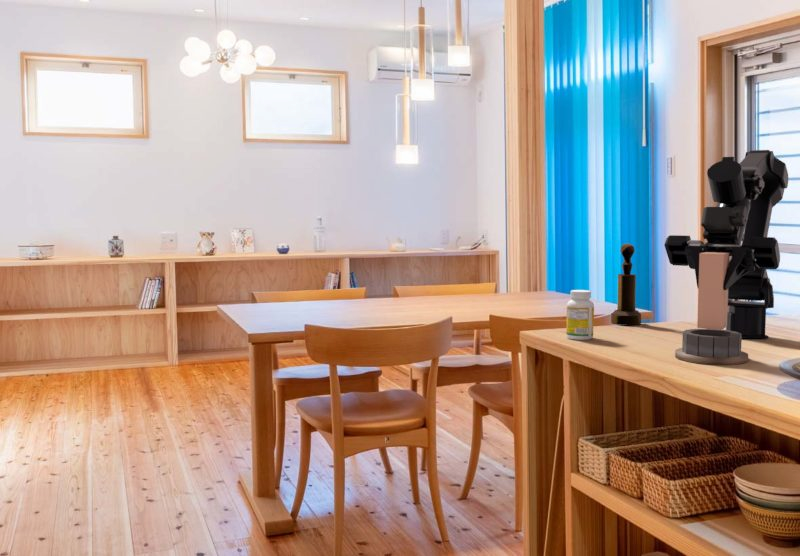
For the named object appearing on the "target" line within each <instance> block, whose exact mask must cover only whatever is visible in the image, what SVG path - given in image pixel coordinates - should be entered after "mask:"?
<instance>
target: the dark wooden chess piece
mask: <svg viewBox="0 0 800 556" xmlns="http://www.w3.org/2000/svg"><path fill="white" fill-rule="evenodd" d="M634 253H635V246H634V245H633V244H631V243H624V244H622V245H621V246H620V254H621V256H622V257H623V263H621V266H622V272H623V273H618V274H617V309H615V310H614V311H612V312H611V315H610V324H613V325H618V326H619V325H620V326H638V325H641V324H642V313H641V312H640V311H639V310H638V309H636V296H637V295H636V291H637V290H636V288H637V286H636V285H637V284H636V282H637V281H636V280H637V275H636V274H635V273H634V274H633V273H631V272H632V268H633V263H632V260H631V259H632V256H633V255H634ZM637 324H638V325H637Z"/></svg>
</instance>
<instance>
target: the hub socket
mask: <svg viewBox="0 0 800 556" xmlns="http://www.w3.org/2000/svg"><path fill="white" fill-rule="evenodd" d="M742 339H743V338H742V334H741V333H738V332H735V331H729V330H726V329H722V330H717V329H705V328H690V329H689V328H688V329H684V330H683V331H682V346H681V347H679V348H676V349H675V350H674V351H675V353H674V355H675V357H674V358H676V359H678V360H680V361H684V362H687V363H692V364H693V363H694V364H701V365H712V366H713V365H714V366H734V365H742V364H747V363H748V362H749V354H748V353H747V352H745V351H743V350H742Z"/></svg>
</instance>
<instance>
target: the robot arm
mask: <svg viewBox="0 0 800 556" xmlns="http://www.w3.org/2000/svg"><path fill="white" fill-rule="evenodd" d="M706 175H707V181H708V184H709V188H710V193H711V198H712V201H713V202H714V203H716V206H704V207H703V210H702V217H701V224H700V225H701V227H703V232H702V237H703V240H706V242H703V241H702V240H699V239H691V236H690V235H680V234H679V235H677V234H676V235H675V234H674V235H673V234H672V235H668V236H667V237H666V238H665V241H664V248H665V251H666V255H667V258H668V261H669V263H670V264H671V265H672V266H681V267H683V266H684V267H685V266H686V267H688V268H690V269H692V270H694V273H695V281H696V287H697V289H698V288H699V254H700V253H704V252H717V253H729V268H728V270H727V273H726V276H725V279H724V284H723V289H724V290H727V289H728V307H729V308H728V312H727V327H726V328H725V330H729V331H735V332H738V333H741V334H742V339H769V337H770V336H769V335H767V334H766V321H767V319H766V318H767V309H773V308H775V307H774V306H775V295H774V289H773V288H774V286H773V285H772V284H771V283H772V282H771V279H770V278H769V275H768V271H767V270H777V269H778V268H779V266H780V262H781V253H780V246H779V241H778V239H777V238H776V237H772V236H771V237H770V236H768V234H769V228H770V224H771V216H772V211H773V208H774V207H775V206H776V205H777V204H779V202H780V201H782V199H783V197H784V193H785V190H786V189H788V185H789V172H788V169H787V165H786V163H785V162H784V161H782V160H780V159H779V158H777V157H776V156H775V154H774V151H773V150H770V149H757V150H756V149H754V150H753V149H752V150H749V151H745V155H744V158H743V159H742V160H741V161H740V162H738V161H736V159H735V156H722V158H721V160H720V161H717V162H715V163H713V164H712V165H711V166H710V167H709V168H708V169H707V173H706ZM758 301H759V302H758ZM761 301H762V302H761ZM763 301H764V302H763Z"/></svg>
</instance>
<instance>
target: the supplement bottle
mask: <svg viewBox="0 0 800 556" xmlns="http://www.w3.org/2000/svg"><path fill="white" fill-rule="evenodd" d="M569 293H570V295H569V297H570V298H571V299H570V300H568V302H567V303H566V338H567V339H569V340H574V341H587V340H592V339H593V338H594V320H595V319H594V318H595V315H594V314H595V305H594V302H592V300H590V299H591V297H592V292H591V290H586V289H571V290H570V292H569Z"/></svg>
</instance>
